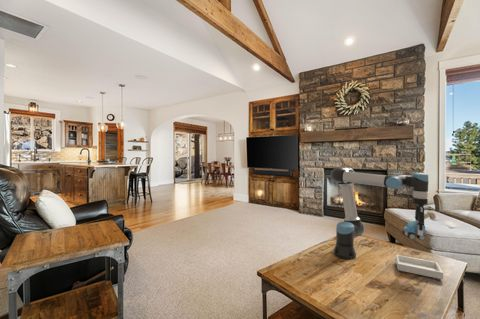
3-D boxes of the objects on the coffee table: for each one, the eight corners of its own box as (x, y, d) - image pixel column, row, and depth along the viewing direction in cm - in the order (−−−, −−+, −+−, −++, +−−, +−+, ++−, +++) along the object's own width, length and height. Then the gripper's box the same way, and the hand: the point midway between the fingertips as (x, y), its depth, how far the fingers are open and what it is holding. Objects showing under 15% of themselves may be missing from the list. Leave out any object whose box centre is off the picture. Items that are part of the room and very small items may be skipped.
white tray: (397, 272, 149) (398, 263, 149) (395, 262, 162) (396, 254, 162) (442, 281, 138) (443, 272, 138) (436, 270, 151) (437, 262, 151)
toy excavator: (438, 241, 144) (439, 214, 143) (407, 239, 147) (408, 212, 146) (429, 236, 152) (430, 210, 151) (400, 234, 156) (401, 209, 155)
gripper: (431, 201, 137) (430, 239, 138) (424, 195, 156) (423, 228, 157) (415, 200, 141) (414, 237, 142) (410, 194, 160) (409, 226, 161)
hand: (418, 232), depth 149 cm, fingers closed on toy excavator, 9 cm apart
